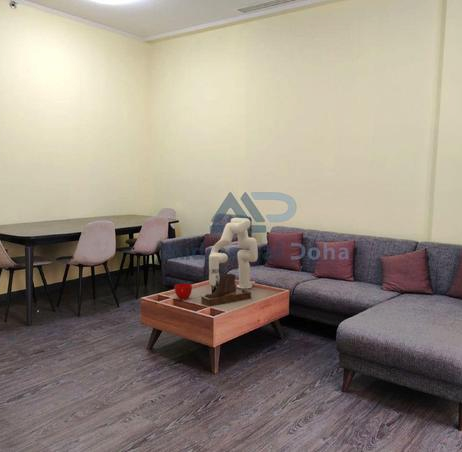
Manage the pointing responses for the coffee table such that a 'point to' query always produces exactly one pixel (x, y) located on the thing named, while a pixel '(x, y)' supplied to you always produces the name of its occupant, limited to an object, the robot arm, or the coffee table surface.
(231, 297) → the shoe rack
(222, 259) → the robot arm
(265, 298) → the coffee table surface
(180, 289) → the ceramic cup
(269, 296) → the coffee table surface
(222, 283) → the boot
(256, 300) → the coffee table surface
